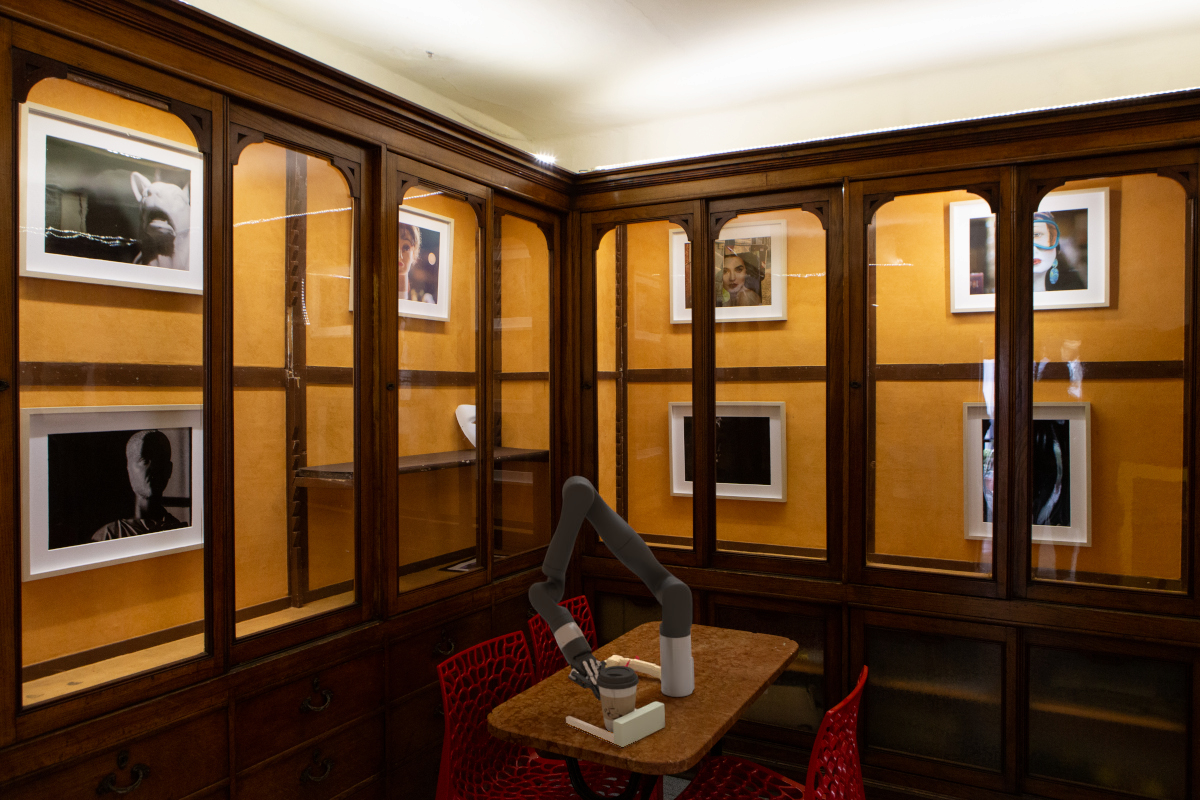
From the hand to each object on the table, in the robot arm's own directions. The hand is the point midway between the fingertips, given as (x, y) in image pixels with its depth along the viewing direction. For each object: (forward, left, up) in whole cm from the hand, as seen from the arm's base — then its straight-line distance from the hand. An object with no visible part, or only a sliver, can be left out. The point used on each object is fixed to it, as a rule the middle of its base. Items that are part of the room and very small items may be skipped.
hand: (602, 698), depth 205 cm
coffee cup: (0, +6, -7) cm, 9 cm away
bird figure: (-31, -16, -7) cm, 36 cm away
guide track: (0, +4, -6) cm, 8 cm away
